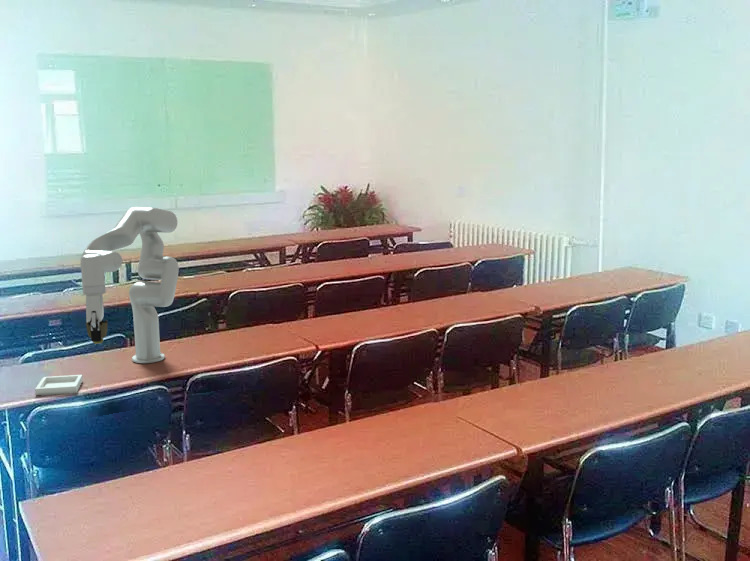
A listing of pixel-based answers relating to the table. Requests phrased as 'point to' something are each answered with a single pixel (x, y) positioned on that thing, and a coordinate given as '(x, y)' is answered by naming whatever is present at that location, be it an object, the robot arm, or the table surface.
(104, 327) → the cup
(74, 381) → the tray
